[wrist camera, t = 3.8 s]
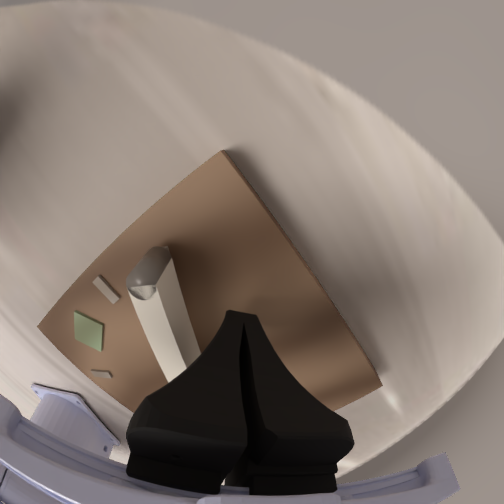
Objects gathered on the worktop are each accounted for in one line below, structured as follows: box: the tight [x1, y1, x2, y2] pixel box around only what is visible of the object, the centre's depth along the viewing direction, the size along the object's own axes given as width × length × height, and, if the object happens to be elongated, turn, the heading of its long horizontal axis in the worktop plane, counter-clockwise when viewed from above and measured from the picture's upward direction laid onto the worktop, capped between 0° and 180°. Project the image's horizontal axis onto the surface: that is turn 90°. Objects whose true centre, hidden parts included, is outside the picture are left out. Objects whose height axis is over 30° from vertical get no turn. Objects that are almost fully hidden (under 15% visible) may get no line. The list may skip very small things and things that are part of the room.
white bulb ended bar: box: [126, 246, 201, 383], centre depth 12 cm, size 10×3×2 cm, turn 8°
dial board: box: [37, 150, 383, 413], centre depth 15 cm, size 18×17×2 cm
